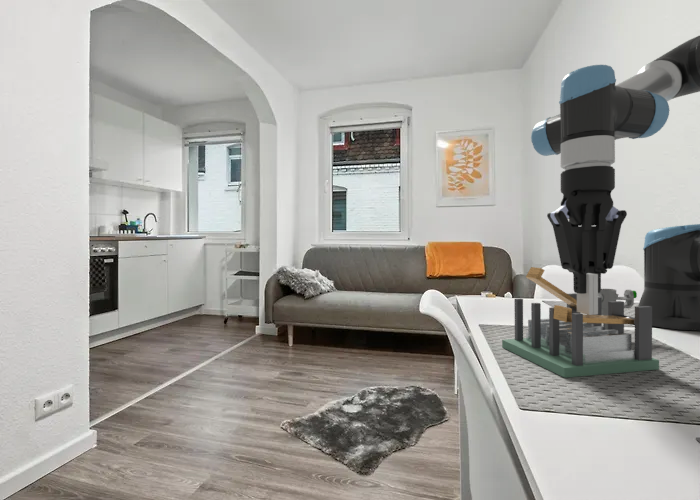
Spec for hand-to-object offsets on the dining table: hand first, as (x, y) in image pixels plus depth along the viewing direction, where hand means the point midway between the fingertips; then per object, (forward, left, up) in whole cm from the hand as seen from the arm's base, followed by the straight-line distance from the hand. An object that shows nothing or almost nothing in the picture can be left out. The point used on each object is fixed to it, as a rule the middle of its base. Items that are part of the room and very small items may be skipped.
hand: (587, 312), depth 64 cm
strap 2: (-2, 0, -2) cm, 2 cm away
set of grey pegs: (-2, -5, -7) cm, 9 cm away
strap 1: (-2, -10, +1) cm, 10 cm away
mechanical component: (-19, -16, -9) cm, 26 cm away
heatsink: (-2, -5, -7) cm, 9 cm away
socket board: (-1, -5, -9) cm, 10 cm away
